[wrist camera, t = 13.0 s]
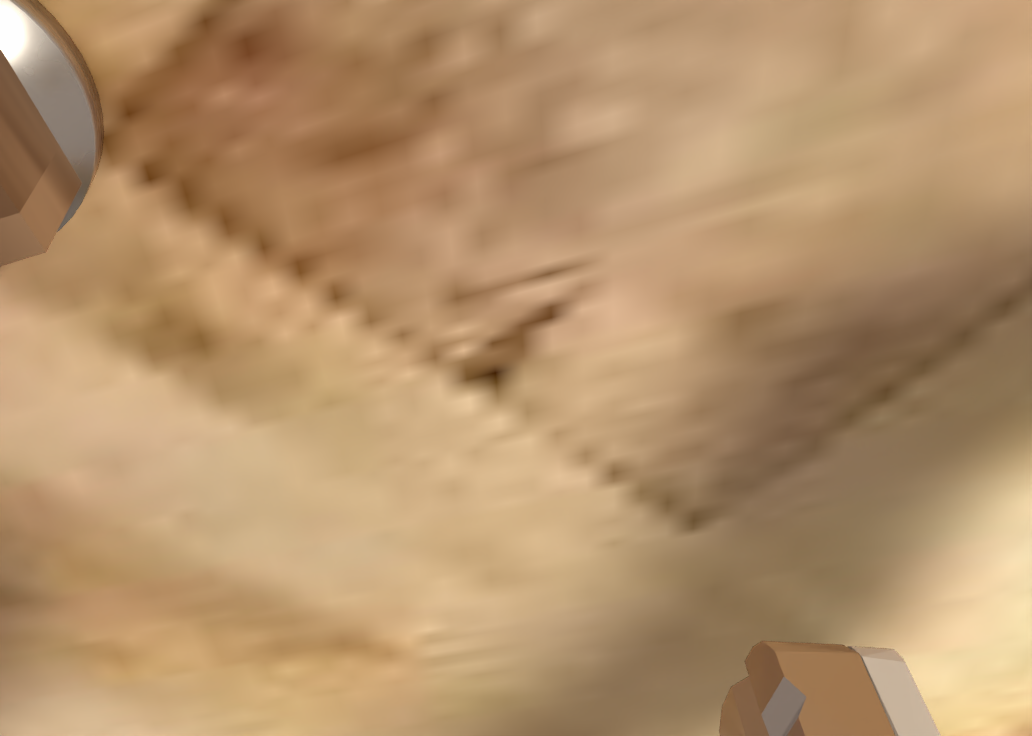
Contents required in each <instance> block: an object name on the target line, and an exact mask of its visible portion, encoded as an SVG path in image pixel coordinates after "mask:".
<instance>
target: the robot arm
mask: <svg viewBox="0 0 1032 736" xmlns="http://www.w3.org/2000/svg"><path fill="white" fill-rule="evenodd" d="M745 664H746V667H747V671H748V674H749V676H748V677H747V678H745V679H743V680H742V681H740V682H738V683H737V684H735V685H733V686H732V687H731V688H730V690H729V692H728V695H727V697H726V699H725V701H724V703H723V705H722V711H721V720H720V729H719V732H720V736H941V735H940V733H939V731H938V729H937V727H936V725H935V722H934V720H933V718H932V716H931V714H930V712H929V710H928V708H927V706H926V704H925V702H924V700H923V698H922V696H921V694H920V692H919V689H918V687H917V685H916V683H915V681H914V679H913V677H912V675H911V673H910V671H909V669H908V667H907V665H906V663H905V661H904V659H903V658H902V657H901V656H900V655H899V654H898V653H897V652H896V651H895V650H894V649H887V648H871V647H852V646H849V647H846V646H845V645H838V644H817V643H796V642H775V641H762V642H760V643H758V644H757V645H755V646H753V648H752V649H751V651H750V653H749V655H748V656H747V658H746V660H745Z"/></svg>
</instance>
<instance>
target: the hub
mask: <svg viewBox="0 0 1032 736" xmlns="http://www.w3.org/2000/svg"><path fill="white" fill-rule="evenodd" d="M0 48H1V50H2V52H3V53H4V55H5V57H6V58H7V60H8V62H9V63H10V65H11V67H12V68H13V70H14V72H15V73H16V75H17V76H18V78H19V80H20V81H21V83H22V85H23V86H24V88H25V90H26V91H27V93H28V95H29V96H30V98H31V100H32V101H33V103H34V104H35V106H36V108H37V109H38V111H39V113H40V114H41V116H42V118H43V119H44V121H45V123H46V124H47V126H48V128H49V129H50V131H51V132H52V134H53V136H54V137H55V139H56V141H57V142H58V144H59V146H60V147H61V149H62V151H63V152H64V154H65V156H66V157H67V159H68V160H69V162H70V164H71V165H72V167H73V169H74V170H75V172H76V174H77V175H78V177H79V179H80V180H81V182H82V185H81V186H80V188H79V190H78V192H77V194H76V196H75V198H74V200H73V202H72V204H71V206H70V207H69V209H68V211H67V213H66V215H65V217H64V219H63V221H62V223H61V225H60V227H59V228H58V230H57V232H58V231H59V230H60V229H61V228H62V227H63V226H64V225H65V224H66V223H67V222H68V221H69V220H70V219H71V218H72V217H73V215H74V214H75V212H76V211H77V209H78V208H79V206H80V205H81V203H82V201H83V199H84V197H85V195H86V193H87V191H88V189H89V187H90V185H91V183H92V181H93V179H94V177H95V174H96V172H97V170H98V167H99V163H100V159H101V155H102V150H103V139H104V126H103V114H102V109H101V104H100V99H99V95H98V92H97V89H96V86H95V83H94V80H93V77H92V75H91V73H90V71H89V69H88V67H87V65H86V62H85V60H84V58H83V56H82V55H81V53H80V52H79V50H78V48H77V47H76V45H75V44H74V42H73V41H72V39H71V37H70V36H69V35H68V34H67V32H66V31H65V30H64V29H63V27H62V26H61V25H60V24H59V22H58V21H57V20H56V19H55V17H54V16H53V15H52V14H51V13H50V12H49V11H48V10H47V9H46V8H45V7H44V6H43V5H42V4H41V3H40V2H39V1H38V0H0Z"/></svg>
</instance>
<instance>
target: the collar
mask: <svg viewBox="0 0 1032 736" xmlns="http://www.w3.org/2000/svg"><path fill="white" fill-rule="evenodd" d="M81 185H82V182H81V180H80V179H79V177H78V175H77V174H76V172H75V170H74V169H73V167H72V165H71V164H70V162H69V160H68V159H67V157H66V156H65V154H64V152H63V151H62V149H61V147H60V146H59V144H58V142H57V141H56V139H55V137H54V136H53V134H52V132H51V131H50V129H49V128H48V126H47V124H46V123H45V121H44V119H43V118H42V116H41V114H40V113H39V111H38V109H37V108H36V106H35V104H34V103H33V101H32V100H31V98H30V96H29V95H28V93H27V91H26V90H25V88H24V86H23V85H22V83H21V81H20V80H19V78H18V76H17V75H16V73H15V72H14V70H13V68H12V67H11V65H10V63H9V62H8V60H7V58H6V57H5V55H4V53H3V52H2V50H1V48H0V266H2V265H6V264H9V263H12V262H15V261H19V260H22V259H25V258H29V257H32V256H35V255H39V254H42V253H45V252H46V251H47V249H48V248H49V246H50V244H51V242H52V240H53V238H54V236H55V234H56V232H57V230H58V228H59V227H60V225H61V223H62V221H63V219H64V217H65V215H66V213H67V211H68V209H69V207H70V206H71V204H72V202H73V200H74V198H75V196H76V194H77V192H78V190H79V188H80V186H81Z"/></svg>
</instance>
